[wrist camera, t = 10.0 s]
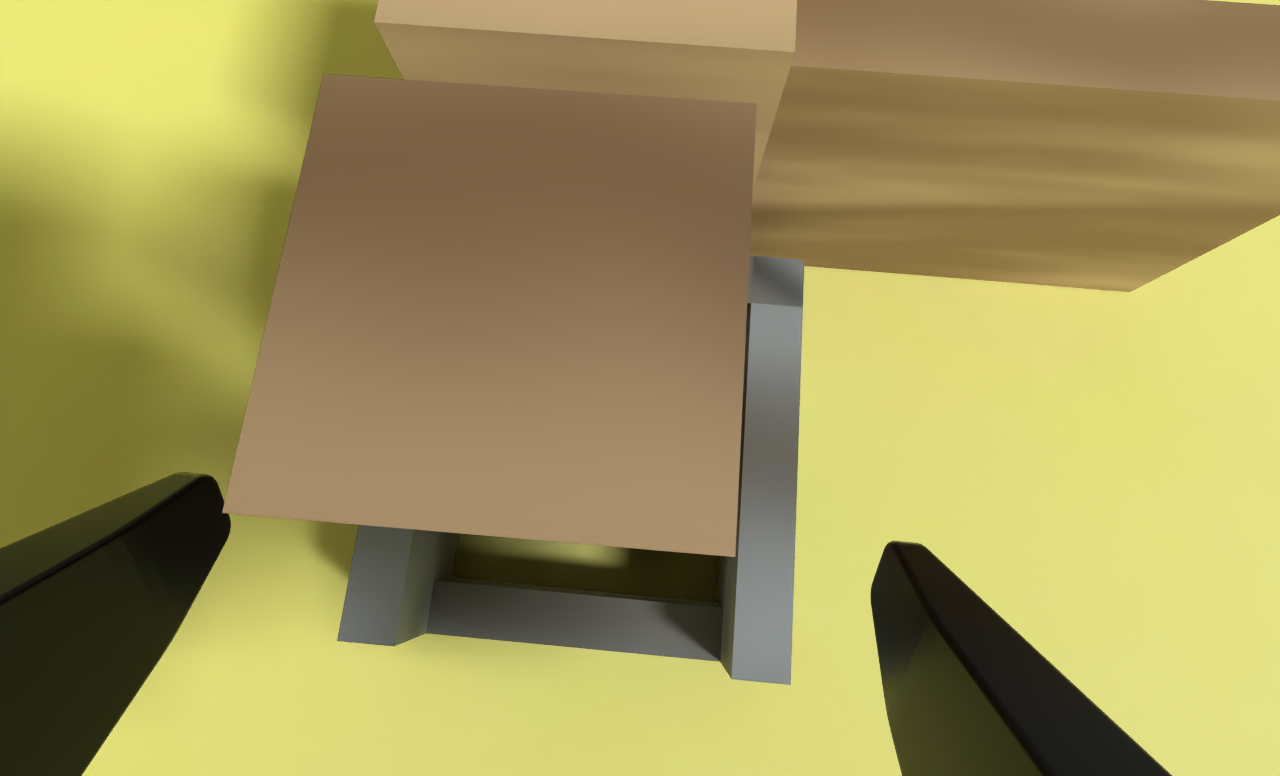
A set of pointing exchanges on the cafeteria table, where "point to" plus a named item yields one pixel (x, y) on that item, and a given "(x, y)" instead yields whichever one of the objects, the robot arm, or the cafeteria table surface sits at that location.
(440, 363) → the wooden block
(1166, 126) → the wooden fixture with frame
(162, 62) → the cafeteria table surface
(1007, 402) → the cafeteria table surface
